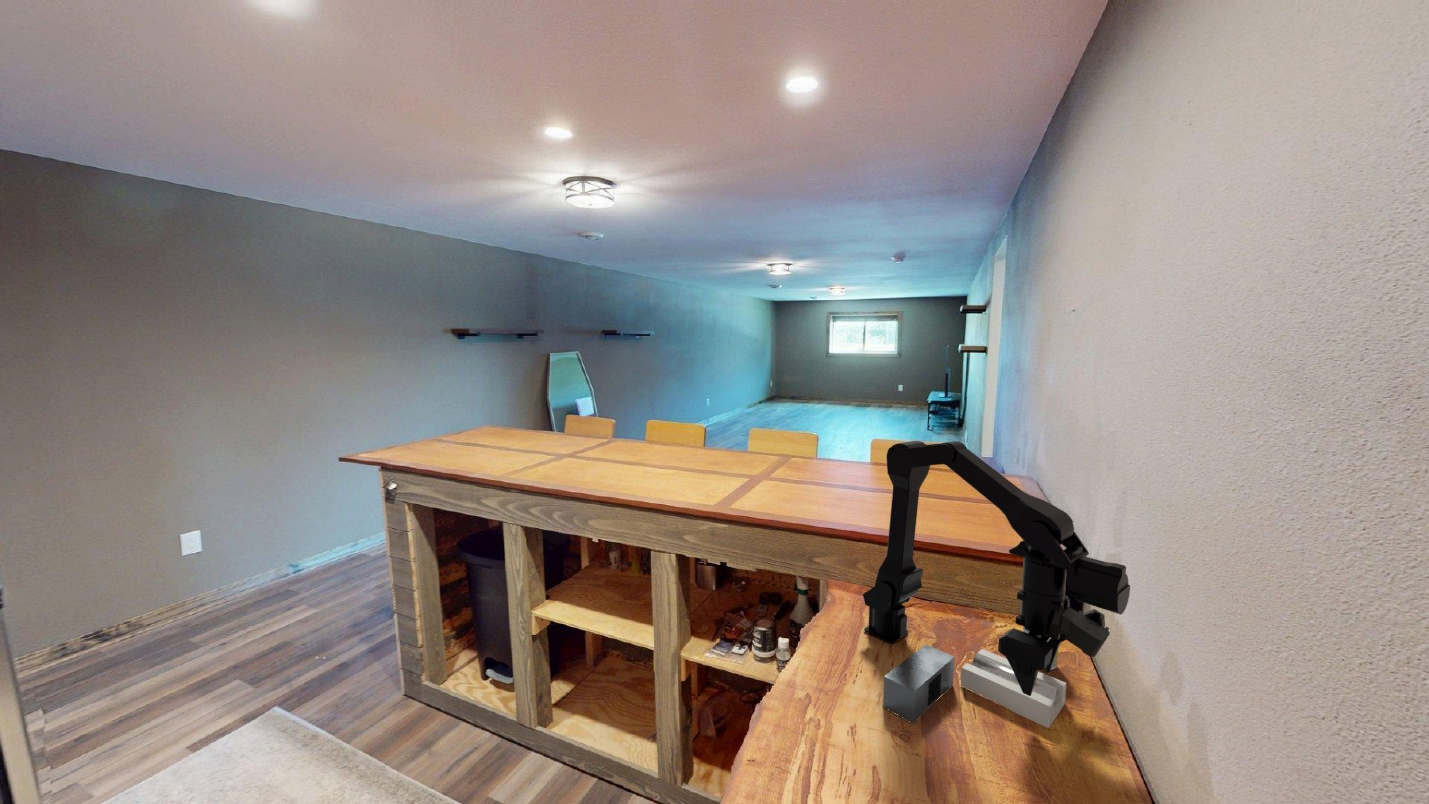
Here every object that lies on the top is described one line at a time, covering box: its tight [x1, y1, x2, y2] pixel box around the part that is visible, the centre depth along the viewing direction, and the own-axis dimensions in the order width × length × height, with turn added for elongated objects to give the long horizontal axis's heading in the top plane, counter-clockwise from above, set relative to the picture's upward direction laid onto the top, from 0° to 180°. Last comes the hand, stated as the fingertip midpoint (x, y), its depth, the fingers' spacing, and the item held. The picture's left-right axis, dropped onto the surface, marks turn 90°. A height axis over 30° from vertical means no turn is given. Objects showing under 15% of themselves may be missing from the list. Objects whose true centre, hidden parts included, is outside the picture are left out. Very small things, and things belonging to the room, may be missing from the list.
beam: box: [882, 644, 955, 725], centre depth 84 cm, size 5×14×5 cm, turn 132°
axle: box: [971, 654, 1058, 709], centre depth 85 cm, size 12×3×3 cm, turn 42°
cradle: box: [960, 648, 1067, 729], centre depth 85 cm, size 13×9×4 cm, turn 42°
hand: (1036, 682), depth 82 cm, fingers open, 9 cm apart
